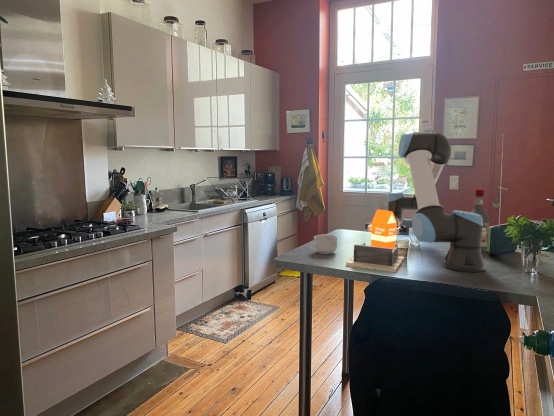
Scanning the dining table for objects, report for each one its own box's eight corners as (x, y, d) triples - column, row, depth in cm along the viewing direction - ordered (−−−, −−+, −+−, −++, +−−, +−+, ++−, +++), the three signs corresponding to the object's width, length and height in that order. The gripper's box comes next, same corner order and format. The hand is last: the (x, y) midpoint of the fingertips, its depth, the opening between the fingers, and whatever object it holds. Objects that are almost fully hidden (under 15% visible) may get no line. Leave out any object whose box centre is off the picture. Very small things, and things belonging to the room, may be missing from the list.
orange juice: (380, 249, 199) (382, 208, 197) (395, 252, 193) (397, 210, 190) (370, 251, 194) (372, 210, 192) (385, 255, 188) (387, 212, 185)
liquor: (460, 248, 204) (465, 188, 200) (476, 247, 206) (480, 188, 202) (474, 252, 195) (479, 190, 191) (489, 251, 197) (495, 190, 194)
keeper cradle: (395, 272, 159) (396, 251, 158) (346, 265, 168) (346, 245, 167) (404, 259, 179) (405, 241, 178) (359, 254, 188) (360, 236, 187)
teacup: (335, 256, 184) (336, 239, 183) (312, 255, 186) (312, 237, 185) (337, 249, 197) (338, 233, 196) (315, 248, 199) (315, 232, 198)
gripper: (415, 233, 203) (409, 241, 184) (366, 228, 214) (356, 235, 195) (416, 218, 202) (410, 224, 183) (367, 214, 213) (356, 220, 194)
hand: (382, 230), depth 189 cm, fingers open, 12 cm apart
